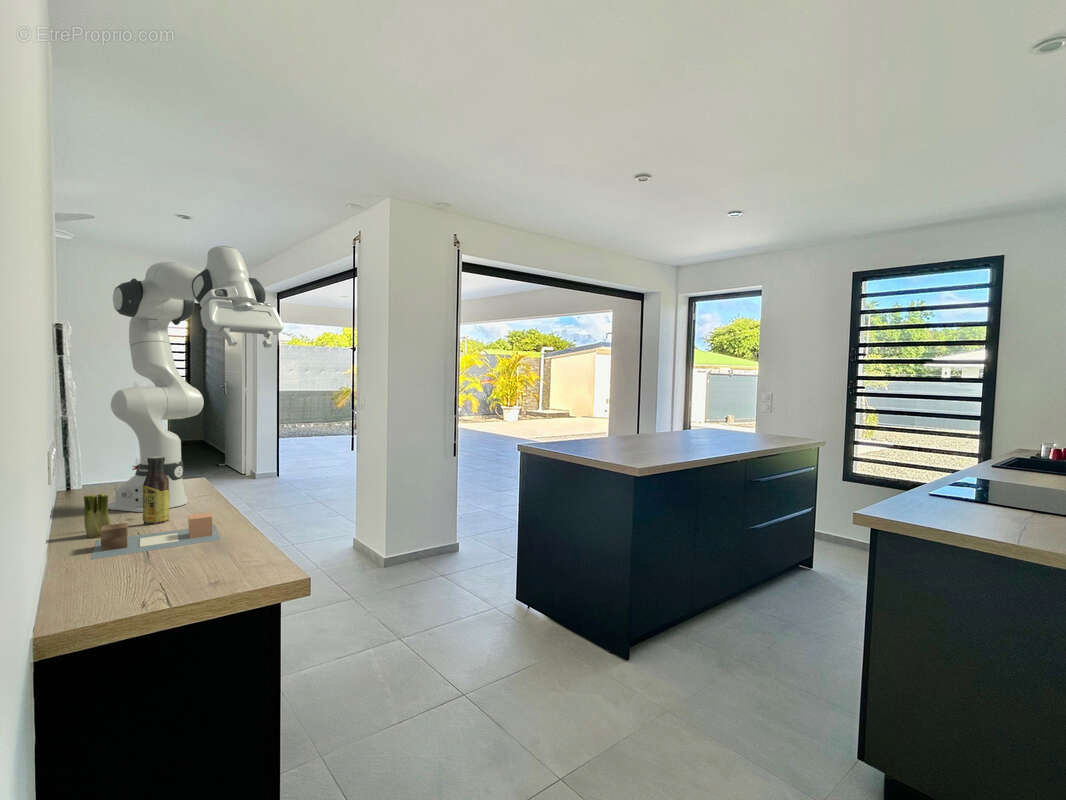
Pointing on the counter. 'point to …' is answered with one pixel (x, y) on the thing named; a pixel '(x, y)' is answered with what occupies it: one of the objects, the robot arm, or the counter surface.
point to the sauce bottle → (156, 492)
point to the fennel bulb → (96, 514)
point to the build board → (155, 542)
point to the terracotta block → (200, 525)
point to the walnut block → (114, 536)
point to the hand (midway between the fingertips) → (251, 345)
